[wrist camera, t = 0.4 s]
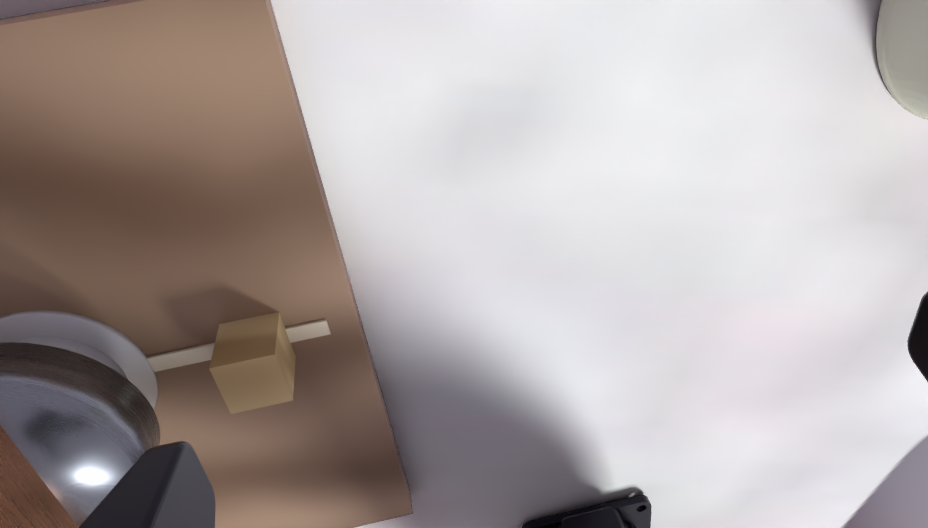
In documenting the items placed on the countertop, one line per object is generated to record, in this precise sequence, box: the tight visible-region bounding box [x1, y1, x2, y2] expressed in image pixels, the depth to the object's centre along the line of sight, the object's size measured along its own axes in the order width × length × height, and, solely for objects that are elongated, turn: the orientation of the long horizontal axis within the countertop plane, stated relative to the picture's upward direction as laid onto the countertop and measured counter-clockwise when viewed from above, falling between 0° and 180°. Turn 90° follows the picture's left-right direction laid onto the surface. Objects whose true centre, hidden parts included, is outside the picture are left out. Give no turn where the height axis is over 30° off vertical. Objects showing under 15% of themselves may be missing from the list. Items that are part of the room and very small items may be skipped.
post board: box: [0, 0, 413, 528], centre depth 21 cm, size 22×20×3 cm
